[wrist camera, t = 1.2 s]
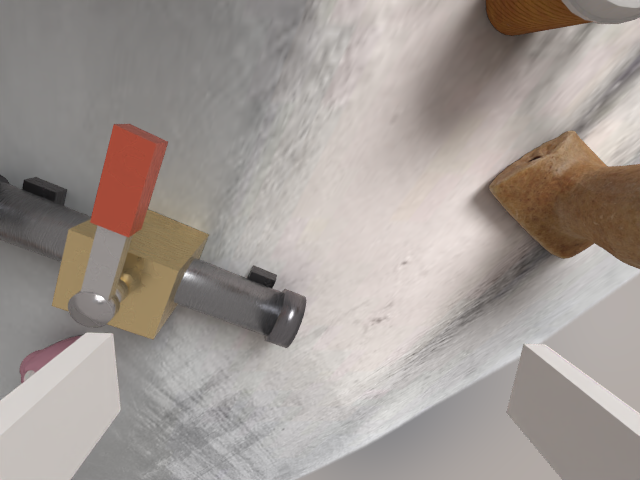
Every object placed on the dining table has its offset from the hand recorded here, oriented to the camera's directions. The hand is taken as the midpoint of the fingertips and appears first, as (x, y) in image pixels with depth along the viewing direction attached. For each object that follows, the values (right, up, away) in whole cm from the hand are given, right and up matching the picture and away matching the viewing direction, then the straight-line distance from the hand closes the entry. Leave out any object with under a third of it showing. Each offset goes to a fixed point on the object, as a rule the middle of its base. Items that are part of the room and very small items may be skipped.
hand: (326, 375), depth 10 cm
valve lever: (-15, +5, +13) cm, 21 cm away
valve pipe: (-19, +3, +25) cm, 32 cm away
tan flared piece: (+27, +10, +25) cm, 38 cm away
